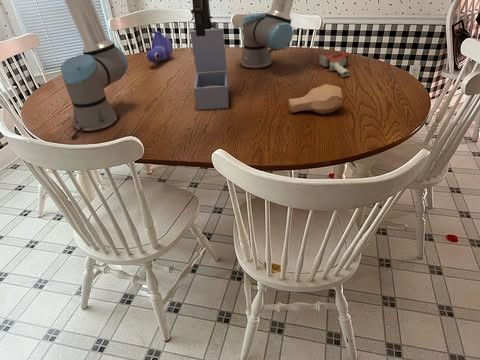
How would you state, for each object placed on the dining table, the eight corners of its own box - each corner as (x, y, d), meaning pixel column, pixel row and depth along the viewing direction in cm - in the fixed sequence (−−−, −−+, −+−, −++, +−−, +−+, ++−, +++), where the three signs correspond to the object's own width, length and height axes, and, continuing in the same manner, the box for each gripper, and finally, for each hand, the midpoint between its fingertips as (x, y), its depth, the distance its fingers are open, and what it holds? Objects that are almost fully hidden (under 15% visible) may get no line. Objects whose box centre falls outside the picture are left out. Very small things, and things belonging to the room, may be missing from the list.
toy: (161, 63, 199) (140, 68, 177) (156, 30, 193) (134, 32, 170) (177, 62, 197) (158, 68, 175) (173, 29, 190) (153, 31, 168)
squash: (347, 114, 128) (348, 93, 121) (291, 124, 130) (290, 103, 123) (339, 97, 135) (340, 77, 129) (287, 107, 137) (285, 87, 131)
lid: (223, 29, 132) (222, 17, 138) (189, 31, 132) (190, 19, 138) (226, 70, 146) (226, 58, 151) (196, 72, 146) (197, 60, 151)
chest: (228, 107, 138) (226, 86, 133) (196, 109, 138) (193, 88, 133) (228, 91, 151) (226, 71, 146) (199, 93, 151) (196, 73, 146)
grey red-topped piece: (345, 82, 156) (359, 65, 169) (347, 70, 153) (362, 54, 165) (308, 74, 164) (324, 58, 176) (309, 63, 160) (326, 48, 173)
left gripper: (205, -46, 91) (212, 40, 103) (208, -52, 111) (214, 20, 123) (175, -45, 91) (187, 41, 103) (184, -51, 111) (192, 22, 123)
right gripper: (211, -29, 121) (217, 42, 135) (212, -34, 134) (218, 32, 147) (189, -28, 121) (198, 43, 135) (192, -33, 134) (200, 33, 148)
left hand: (202, 30), depth 113 cm, fingers open, 13 cm apart
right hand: (208, 37), depth 141 cm, fingers closed on lid, 2 cm apart
